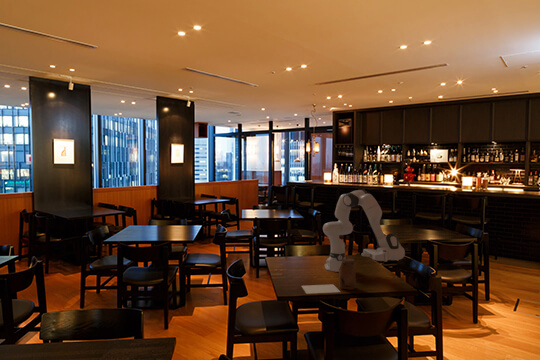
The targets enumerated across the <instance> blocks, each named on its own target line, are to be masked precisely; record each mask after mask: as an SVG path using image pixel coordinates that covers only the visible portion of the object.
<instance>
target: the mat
mask: <svg viewBox="0 0 540 360" xmlns="http://www.w3.org/2000/svg"><path fill="white" fill-rule="evenodd" d="M301 288H302V290H303V291H304V293H305V294H307V295H313V294H316V295H317V294H330V293H331V294H334V293H338V294H339V293H341V291H340V290H339V288H338V287H336V286H335V285H334V284H333V283H332V284H331V283H330V284H313V285H301Z"/></svg>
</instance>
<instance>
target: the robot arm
mask: <svg viewBox="0 0 540 360" xmlns="http://www.w3.org/2000/svg"><path fill="white" fill-rule="evenodd" d="M357 206H360V207H362V209H363V211H364V213H365V215H366V217H367V219H368V222H369V225H370V227H371V230H372V232H373V234H374V237H375V239H376V243H377V248H376V249H374V248H363V250H362V253H361V256H362V257H366V258H369V259H370V258H371V259H372V260H374V261H378V262H384V263H385V262H387V263H388V261H399V260H402V259H404V257H405V255H406V251H405V248H404V247H403V246H402V245H401V243H400V242H399V238H398V236H397V235H396V234H395V233H393V232H392V233H387V234H386V235H385V233H384V231H383V229H382V226H381V219H382V216H383V211H382V209H381V206H380V205H379V203H378V201H377V200H376V198H375V197H374V196H373V194H371V193H368V191H366V190H365V189H358V190H353V191H351V192H348V193H343V194H341V195H340V196H339V198H338V201H337V203H336V207H335V211H334V216H335V218H336V219H337V220H338V221H329V222H326V223H324V224H323V226H322V231H323V233H324V235H325V236H326V237H328V240H329V242H330V252H329V257H327V259H326V260H325V263H324V268H325V270H326V271H330V272H336V273H337V272H338V273H339V269H340V267H341V264H342V260H343V258H346V252H345V251H346V249H345V247H346V244H345V242H344V241H343V240H342V239H340V236H345V235H346V236H347V235H349V234H351V233H352V232H353V230H354V227H353V224H352V223H351V221H350V213H351V209H352V208H354V207H357Z"/></svg>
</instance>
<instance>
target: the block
mask: <svg viewBox="0 0 540 360" xmlns="http://www.w3.org/2000/svg"><path fill="white" fill-rule="evenodd" d="M356 278H357V277H356V261H355V259H354V258H348V257H345V258H343V260H342V264H341V267H340V269H339V272H338V287H339V288H340V289H342V290H351V291H352V290H355V289H356V282H357V281H356V280H357V279H356Z"/></svg>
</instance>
